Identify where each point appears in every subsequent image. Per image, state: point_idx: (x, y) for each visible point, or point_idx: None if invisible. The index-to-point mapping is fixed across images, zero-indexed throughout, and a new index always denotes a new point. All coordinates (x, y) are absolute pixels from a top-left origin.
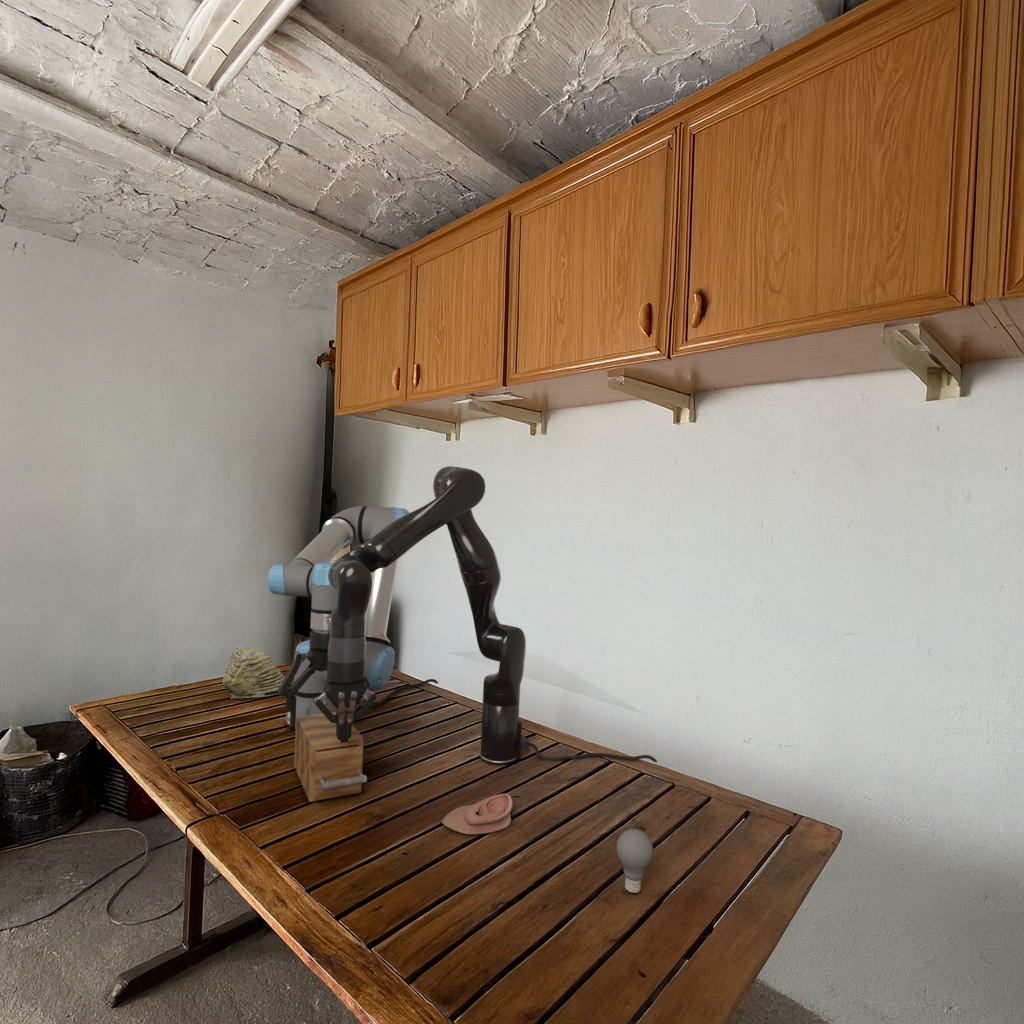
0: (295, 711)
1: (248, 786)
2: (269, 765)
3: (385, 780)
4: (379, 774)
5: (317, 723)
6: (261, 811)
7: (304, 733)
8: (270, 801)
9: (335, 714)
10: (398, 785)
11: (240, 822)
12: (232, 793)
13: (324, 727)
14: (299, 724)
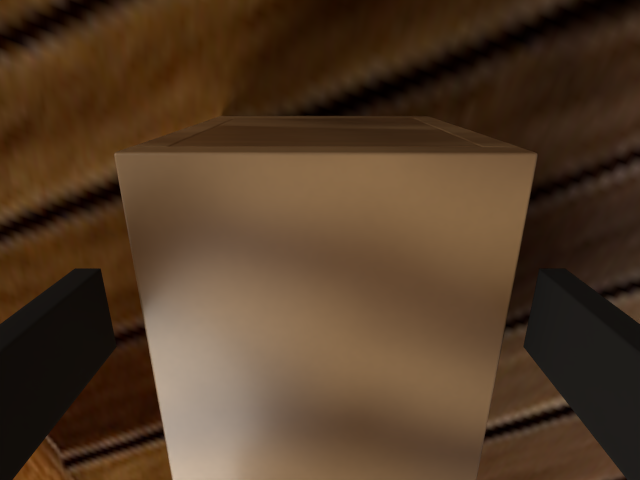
0: (42, 437)
1: (49, 237)
2: (114, 60)
3: (505, 358)
4: (509, 311)
5: (267, 357)
6: (109, 405)
7: (170, 464)
8: (132, 362)
9: (445, 222)
10: (525, 401)
11: (59, 437)
12: (3, 270)
13: (299, 431)
14: (145, 314)
